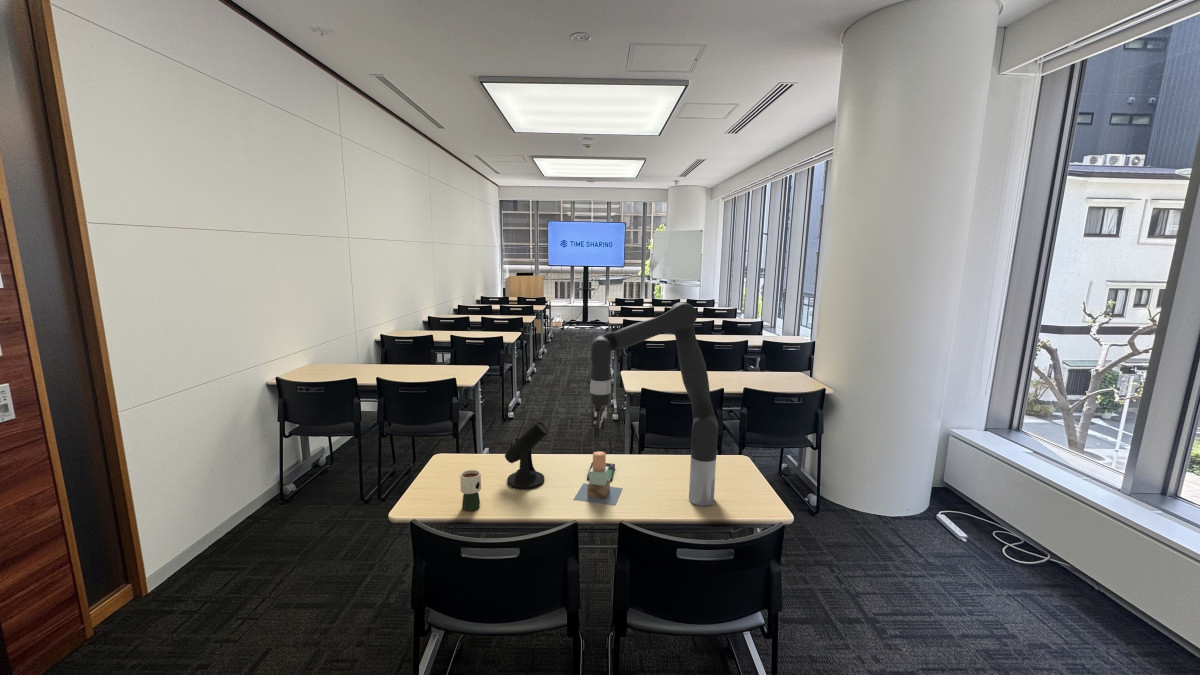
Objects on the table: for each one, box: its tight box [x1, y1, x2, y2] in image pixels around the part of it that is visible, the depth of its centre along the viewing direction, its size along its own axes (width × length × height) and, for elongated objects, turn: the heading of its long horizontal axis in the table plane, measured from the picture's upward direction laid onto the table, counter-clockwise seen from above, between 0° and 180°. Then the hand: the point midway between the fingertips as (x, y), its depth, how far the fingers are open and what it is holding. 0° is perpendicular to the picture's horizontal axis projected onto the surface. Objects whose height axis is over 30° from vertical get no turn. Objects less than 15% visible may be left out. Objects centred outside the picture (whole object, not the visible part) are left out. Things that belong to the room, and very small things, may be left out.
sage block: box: [588, 466, 609, 486], centre depth 183 cm, size 6×6×5 cm
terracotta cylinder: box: [592, 451, 607, 472], centre depth 183 cm, size 5×5×6 cm
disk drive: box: [586, 461, 616, 483], centre depth 203 cm, size 10×3×15 cm
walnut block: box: [587, 478, 611, 499], centre depth 184 cm, size 7×7×5 cm
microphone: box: [504, 421, 549, 491], centre depth 194 cm, size 15×17×25 cm
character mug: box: [459, 469, 482, 511], centre depth 173 cm, size 11×7×13 cm, turn 4°
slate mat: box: [573, 482, 624, 507], centre depth 185 cm, size 16×14×1 cm
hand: (599, 433), depth 181 cm, fingers open, 8 cm apart
